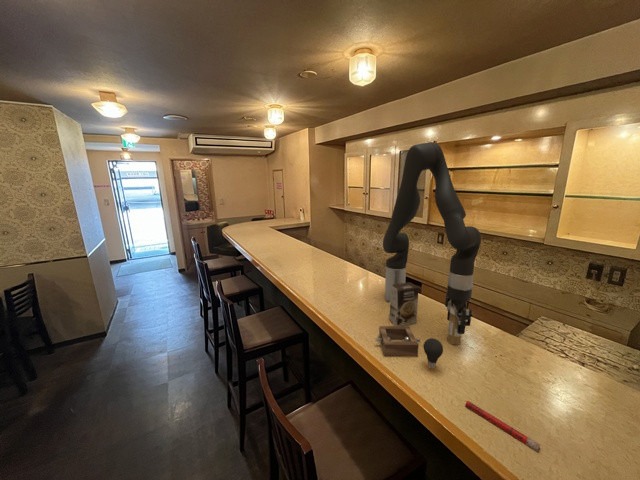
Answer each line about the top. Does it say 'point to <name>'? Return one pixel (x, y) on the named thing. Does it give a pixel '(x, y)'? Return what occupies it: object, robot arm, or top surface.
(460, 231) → the robot arm
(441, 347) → the light bulb
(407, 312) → the coffee box
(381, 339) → the plunger
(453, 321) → the sprinkles bottle
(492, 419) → the flare
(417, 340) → the plunger
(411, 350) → the brown wooden square frame
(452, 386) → the top surface
